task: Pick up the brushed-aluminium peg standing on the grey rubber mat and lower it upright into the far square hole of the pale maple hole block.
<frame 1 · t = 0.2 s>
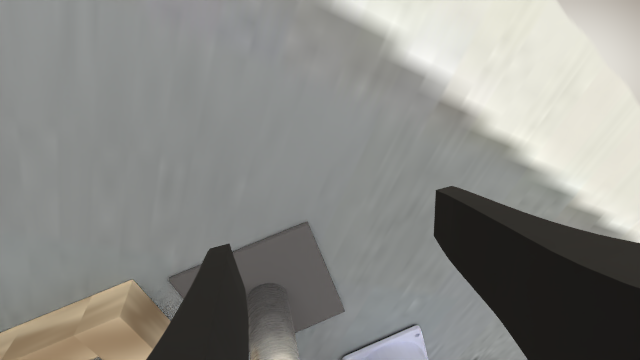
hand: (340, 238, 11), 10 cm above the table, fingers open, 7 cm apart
mat: (266, 294, 25), on the table
peg: (267, 297, 25), resting on mat
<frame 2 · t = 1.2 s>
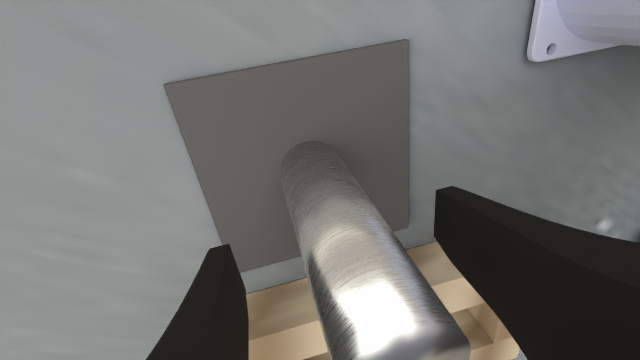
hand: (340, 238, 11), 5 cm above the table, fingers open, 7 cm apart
hole block: (378, 313, 22), on the table
mat: (309, 167, 16), on the table
peg: (310, 170, 16), resting on mat
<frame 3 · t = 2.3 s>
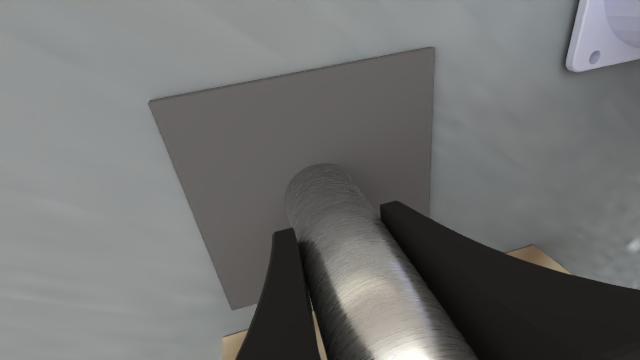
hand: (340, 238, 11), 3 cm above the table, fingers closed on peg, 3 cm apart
hole block: (391, 344, 20), on the table
mat: (318, 192, 14), on the table
peg: (320, 196, 14), resting on mat, touching gripper
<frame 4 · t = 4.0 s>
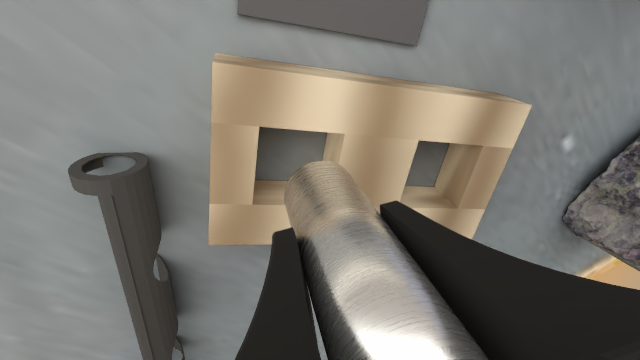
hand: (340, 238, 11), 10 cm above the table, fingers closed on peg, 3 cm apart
hole block: (356, 153, 22), on the table
mineral rock: (619, 171, 29), on the table
caulking gun: (195, 352, 28), on the table
peg: (319, 194, 14), point 7 cm above the table, touching gripper
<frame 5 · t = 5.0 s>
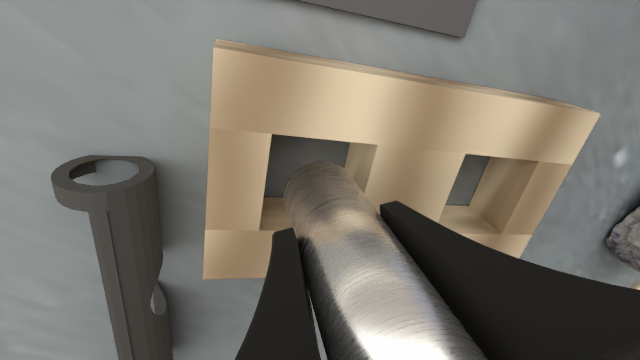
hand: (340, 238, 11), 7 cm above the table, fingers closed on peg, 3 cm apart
hole block: (383, 166, 18), on the table
peg: (319, 194, 14), point 4 cm above the table, touching gripper
when the fingers open (4 cm above the table, at t = 5.9 s): peg drops 1 cm, resting in hole block.
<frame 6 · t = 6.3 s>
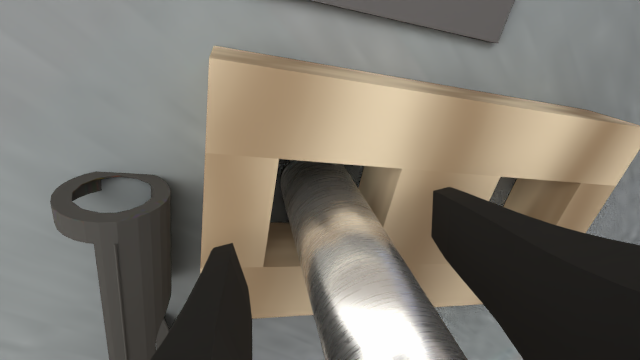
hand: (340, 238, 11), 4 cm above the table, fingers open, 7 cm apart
hole block: (401, 187, 16), on the table
peg: (313, 181, 15), resting in hole block
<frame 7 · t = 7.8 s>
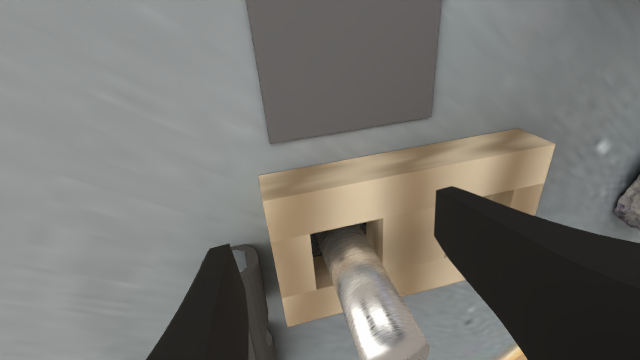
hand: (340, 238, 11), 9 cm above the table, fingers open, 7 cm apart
hole block: (395, 213, 24), on the table
mat: (349, 38, 17), on the table
peg: (335, 226, 23), resting in hole block
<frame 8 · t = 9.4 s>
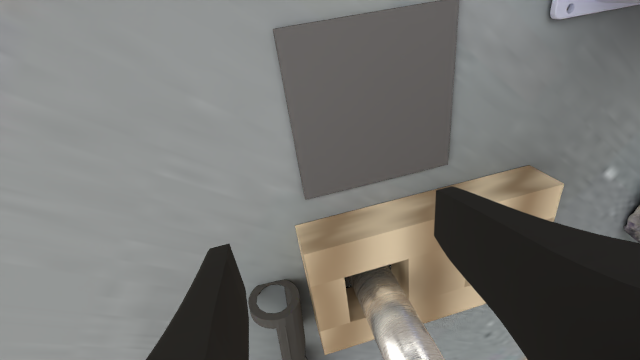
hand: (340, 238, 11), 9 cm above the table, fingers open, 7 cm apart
hole block: (417, 247, 26), on the table
mat: (373, 106, 19), on the table
peg: (363, 261, 25), resting in hole block
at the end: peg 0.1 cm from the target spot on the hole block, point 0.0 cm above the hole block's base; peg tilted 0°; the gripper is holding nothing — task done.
